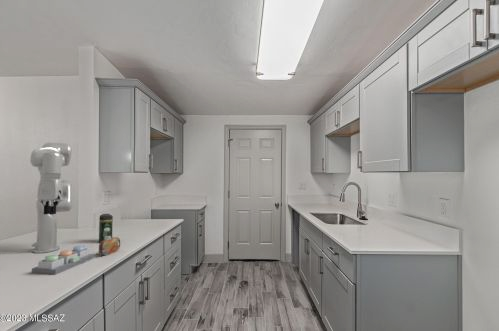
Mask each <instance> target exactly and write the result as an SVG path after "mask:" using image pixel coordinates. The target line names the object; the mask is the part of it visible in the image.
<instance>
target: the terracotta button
mask: <svg viewBox="0 0 499 331" xmlns="http://www.w3.org/2000/svg"><path fill="white" fill-rule="evenodd" d="M72 250H73V249H72ZM72 250H71V249H69V250H68V249H67V250H61V251H60V252H59V254H60V256H64V257H67V256H70V255H72Z"/></svg>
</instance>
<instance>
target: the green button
mask: <svg viewBox="0 0 499 331" xmlns="http://www.w3.org/2000/svg"><path fill="white" fill-rule="evenodd" d="M58 255H59V254H51V255H47V256H46V255H45V257H44V260H45V262H53V261H56V260H58Z"/></svg>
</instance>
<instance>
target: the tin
mask: <svg viewBox="0 0 499 331" xmlns="http://www.w3.org/2000/svg"><path fill="white" fill-rule="evenodd" d="M120 248H121V240H120V238H119V237H118V236H116V237H113V236H112V238H110V239H107V240H104V241H102V242H101V243H100V242H99V245H98V253H99V254H100V256H110V255H111V254H114V253H116V252H118V251H119V249H120Z"/></svg>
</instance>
